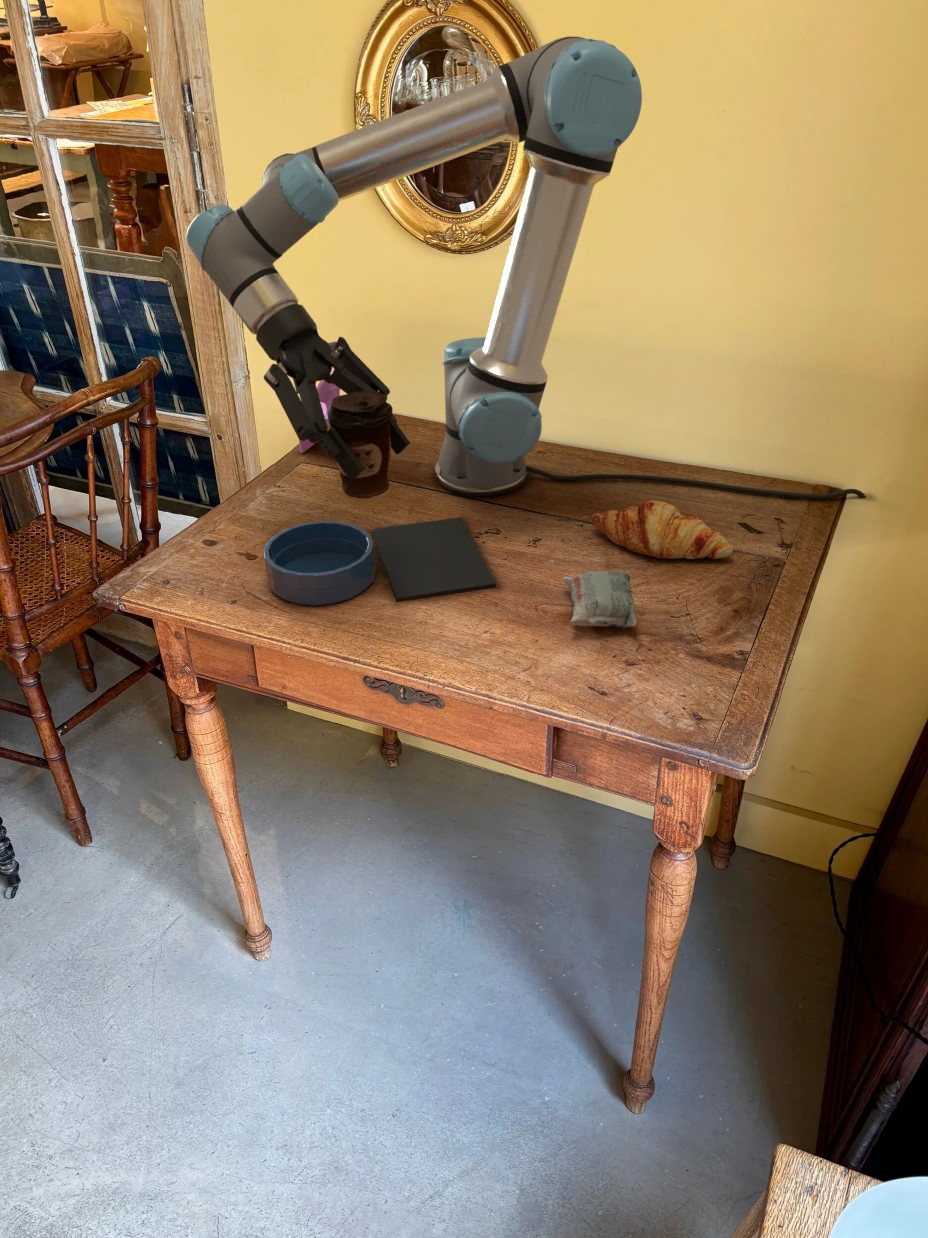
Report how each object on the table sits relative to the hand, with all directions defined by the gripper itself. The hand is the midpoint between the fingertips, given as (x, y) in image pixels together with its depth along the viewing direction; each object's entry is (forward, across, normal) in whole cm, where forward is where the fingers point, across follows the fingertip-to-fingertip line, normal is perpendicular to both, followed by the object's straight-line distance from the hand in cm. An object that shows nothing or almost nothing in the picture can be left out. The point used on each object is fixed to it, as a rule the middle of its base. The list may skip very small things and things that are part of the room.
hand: (381, 461), depth 123 cm
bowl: (+7, +6, -18) cm, 20 cm away
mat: (+14, -7, -11) cm, 19 cm away
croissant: (+32, -28, +7) cm, 44 cm away
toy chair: (-14, -27, -39) cm, 49 cm away
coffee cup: (+1, 0, -6) cm, 6 cm away
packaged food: (+33, -8, +8) cm, 35 cm away
